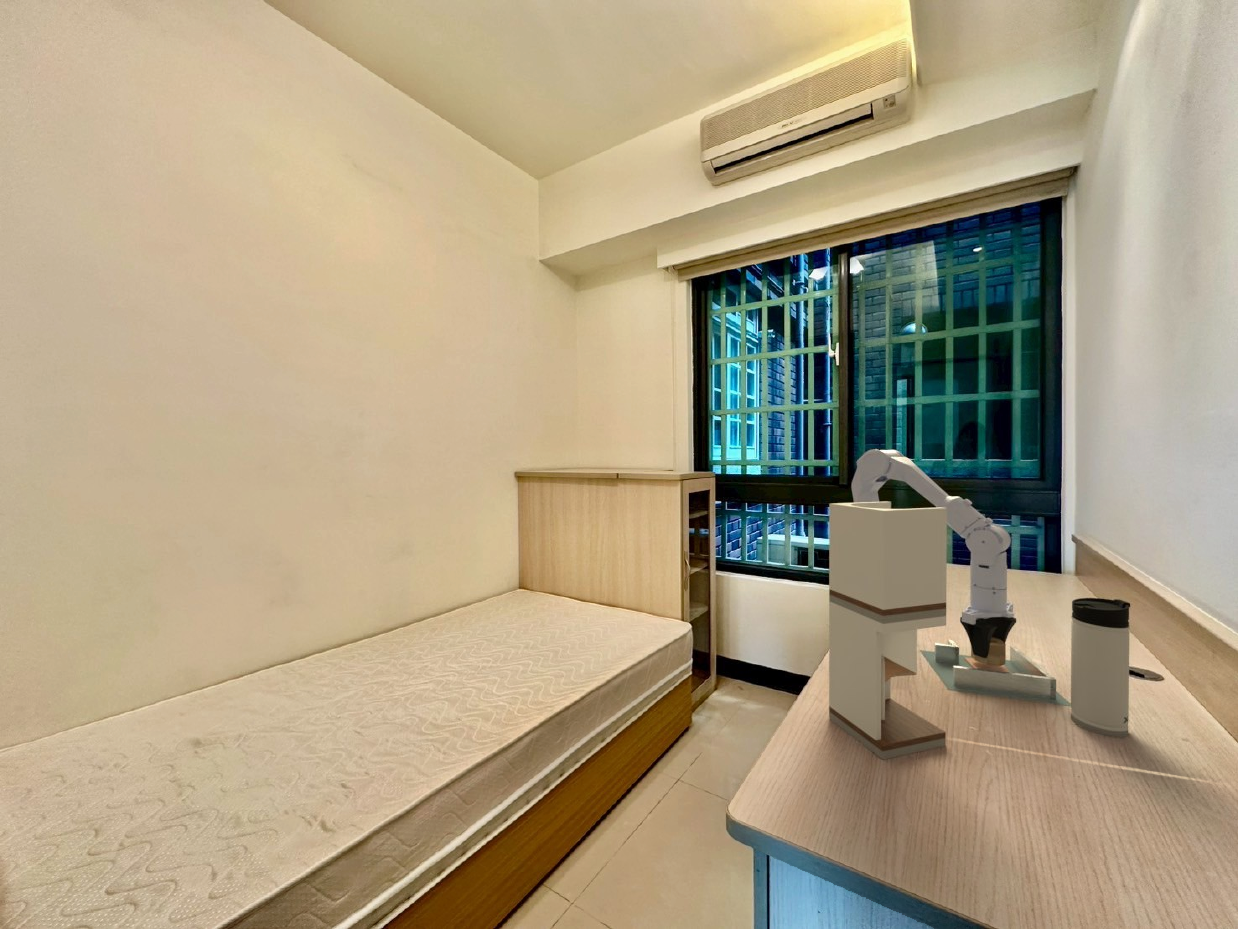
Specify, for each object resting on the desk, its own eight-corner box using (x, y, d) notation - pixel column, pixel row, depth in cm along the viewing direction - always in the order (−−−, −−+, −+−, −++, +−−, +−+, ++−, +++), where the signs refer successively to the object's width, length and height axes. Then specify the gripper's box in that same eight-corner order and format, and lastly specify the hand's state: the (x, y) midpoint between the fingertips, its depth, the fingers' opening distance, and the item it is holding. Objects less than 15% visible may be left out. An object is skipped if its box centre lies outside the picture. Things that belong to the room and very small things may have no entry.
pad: (975, 671, 90) (975, 669, 90) (964, 658, 96) (964, 657, 96) (1013, 676, 88) (1013, 674, 88) (999, 662, 94) (999, 661, 94)
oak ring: (978, 663, 91) (978, 643, 91) (968, 653, 95) (968, 634, 95) (1009, 667, 89) (1009, 646, 89) (997, 656, 94) (997, 637, 94)
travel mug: (1143, 741, 68) (1145, 607, 68) (1090, 736, 70) (1092, 605, 69) (1108, 718, 74) (1109, 595, 74) (1060, 714, 76) (1061, 593, 76)
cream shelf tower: (882, 759, 65) (883, 510, 64) (829, 718, 75) (829, 503, 74) (945, 745, 68) (946, 507, 67) (885, 708, 78) (886, 501, 77)
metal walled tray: (954, 686, 84) (954, 667, 84) (929, 653, 98) (929, 637, 98) (1056, 700, 80) (1056, 679, 80) (1014, 663, 94) (1014, 646, 94)
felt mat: (948, 691, 83) (948, 689, 83) (919, 651, 100) (919, 650, 100) (1074, 708, 77) (1074, 706, 77) (1021, 663, 94) (1021, 661, 94)
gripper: (991, 596, 85) (991, 669, 85) (1031, 586, 91) (1031, 654, 92) (950, 586, 92) (949, 654, 92) (990, 577, 98) (990, 641, 98)
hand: (987, 653), depth 92 cm, fingers closed on oak ring, 5 cm apart
